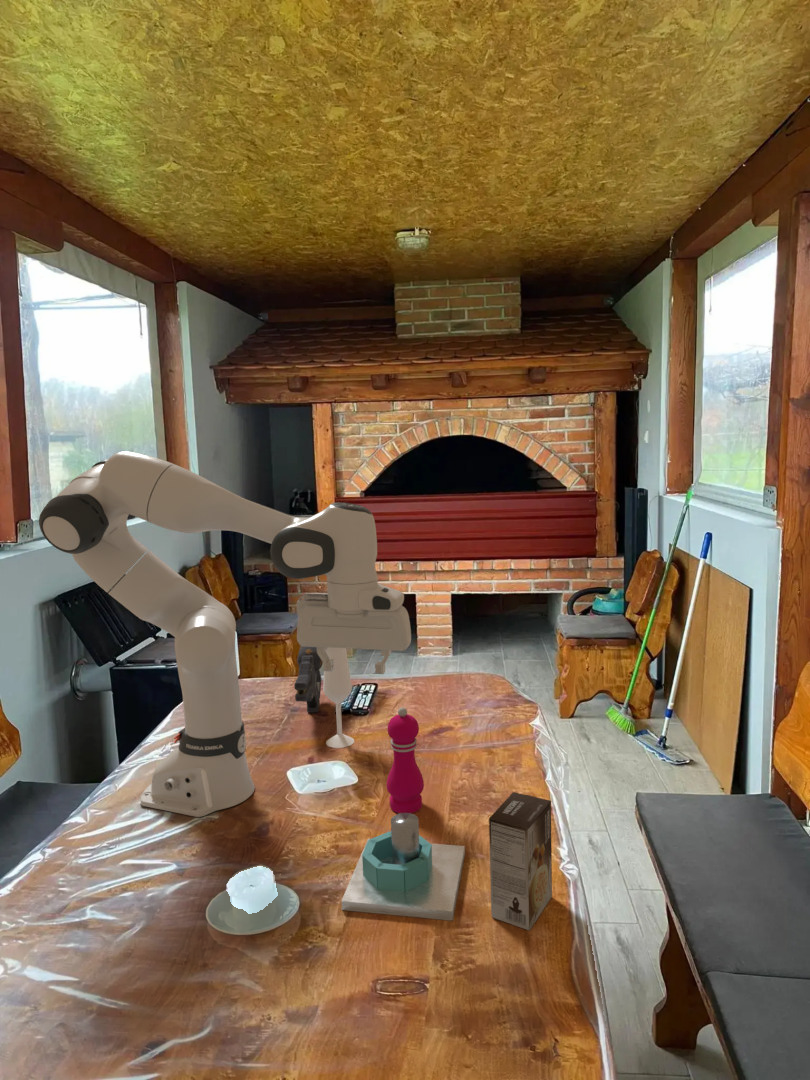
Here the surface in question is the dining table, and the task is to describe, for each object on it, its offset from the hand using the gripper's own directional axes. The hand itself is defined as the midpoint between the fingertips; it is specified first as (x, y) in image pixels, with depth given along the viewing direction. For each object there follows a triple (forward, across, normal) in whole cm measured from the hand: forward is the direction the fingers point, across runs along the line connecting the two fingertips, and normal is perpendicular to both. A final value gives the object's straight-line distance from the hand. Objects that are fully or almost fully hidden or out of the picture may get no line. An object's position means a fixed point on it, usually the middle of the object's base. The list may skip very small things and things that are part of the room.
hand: (354, 671), depth 126 cm
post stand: (+30, +12, -14) cm, 35 cm away
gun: (+30, -26, +51) cm, 65 cm away
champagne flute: (+30, -14, +36) cm, 49 cm away
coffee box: (+30, +30, -18) cm, 46 cm away
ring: (+28, +10, -13) cm, 33 cm away
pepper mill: (+30, +7, +9) cm, 32 cm away
